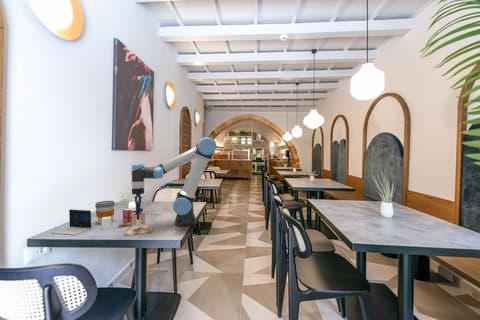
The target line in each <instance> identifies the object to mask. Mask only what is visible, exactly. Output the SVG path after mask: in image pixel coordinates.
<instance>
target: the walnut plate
mask: <svg viewBox="0 0 480 320" xmlns="http://www.w3.org/2000/svg"><path fill="white" fill-rule="evenodd" d="M130 227H133V225H132V222H129V223H123V222H122V223H121V222H120V223H119V224H118V228H130Z"/></svg>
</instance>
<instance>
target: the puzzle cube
mask: <svg viewBox="0 0 480 320" xmlns="http://www.w3.org/2000/svg"><path fill="white" fill-rule="evenodd" d="M141 210H142V212H144V211H143V210H144V209H143V207H141ZM134 212H136V206H134V207H133V206H132V207H131V206H130V207H128V208H125V209H123V210H122V223H129V222H132V215H131V214H132V213H134Z"/></svg>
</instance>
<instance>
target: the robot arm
mask: <svg viewBox="0 0 480 320" xmlns="http://www.w3.org/2000/svg"><path fill="white" fill-rule="evenodd" d="M216 150H217V143H216V141H215V139H214V138H212V137H209V136H205V137H202V138H201V139H200V140H199V141H198V143H197V144H195V145H194V147H193V148H191V149H189V150H186V151H184V152H182V153H181V154H177V155H176V156H174V157H172V158H170V159H168V160H166V161H164V162H163V163H160V164H159V165H157V166H151V167H150V166H149V167H147V166H145V164H143V163H142V164H141V163H136V164H132V165H131V170H130V171H131V183H130V185H131V194H132V195H135V196H134V203H135V207H136V214H135V215H136V225H135V226H139V225H138V224H140V212H142V210H141V208H142V206H141V205H142V195H143V194H145V179H148V180H149V179H151V180H152V179H156V180H159V179H163V177H164V175H166V174H168V173H169V172H171V171H174V170H175V169H178V168H179V167H181V166H184V165H185V164H188V163H190V162H191V161H193V160H194V161H193V163H192V165H191V168H190V170H189V173H188V174H187V178H186V179H185V182H184V185H183V187H182V189H181V190H179V191H177V193H176V198H175V200H174V201H173V203H172V210H173V211H174V212H175V213H176V216H175V220H174V226H177V227H189V226H193V225H195V224H197V218H196V216H195V213H194V202H195V200H196V191H197V189H198V186H199V184H200V181H201V179H202V177H203V174H204V171H205V170H206V167H207V165H208V162H210V161H212V158H213V157H214V154H215V152H216ZM140 225H141V224H140Z"/></svg>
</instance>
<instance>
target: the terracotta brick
mask: <svg viewBox="0 0 480 320" xmlns="http://www.w3.org/2000/svg"><path fill="white" fill-rule="evenodd" d="M135 214H136V212H134V213H132V214H131V215H132V226H139V225H140V226H141V225H145V224H146V211H143V212H140V224H138V225H136V215H135Z"/></svg>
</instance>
